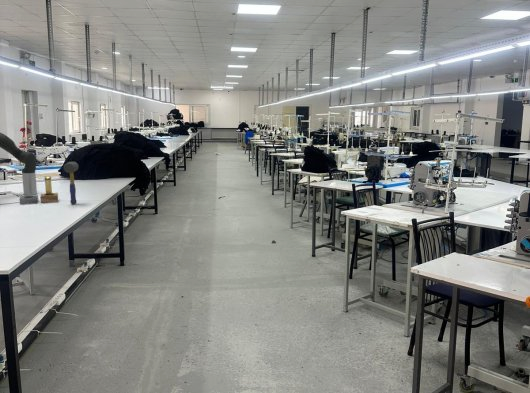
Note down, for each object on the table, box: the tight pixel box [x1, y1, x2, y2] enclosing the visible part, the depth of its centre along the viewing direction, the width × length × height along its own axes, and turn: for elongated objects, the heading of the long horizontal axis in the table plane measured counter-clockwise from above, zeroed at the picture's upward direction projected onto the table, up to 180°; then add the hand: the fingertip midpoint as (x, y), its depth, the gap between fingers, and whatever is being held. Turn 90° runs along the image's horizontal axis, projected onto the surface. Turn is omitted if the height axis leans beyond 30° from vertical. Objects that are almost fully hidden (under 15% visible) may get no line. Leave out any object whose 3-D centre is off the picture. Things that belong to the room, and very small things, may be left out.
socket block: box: [18, 194, 40, 205], centre depth 306 cm, size 12×11×4 cm
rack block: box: [40, 192, 59, 204], centre depth 311 cm, size 12×11×5 cm
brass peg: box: [44, 176, 53, 195], centre depth 310 cm, size 4×4×18 cm
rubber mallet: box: [63, 161, 79, 206], centre depth 300 cm, size 12×8×30 cm, turn 9°
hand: (10, 160), depth 300 cm, fingers open, 8 cm apart
